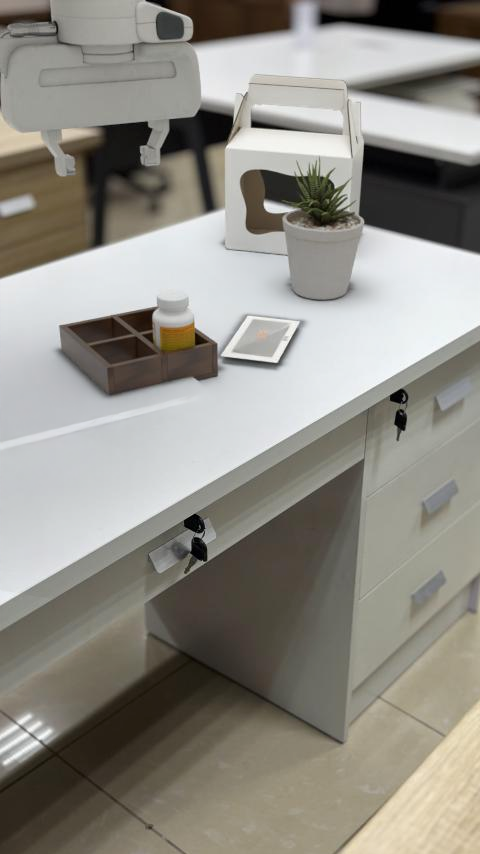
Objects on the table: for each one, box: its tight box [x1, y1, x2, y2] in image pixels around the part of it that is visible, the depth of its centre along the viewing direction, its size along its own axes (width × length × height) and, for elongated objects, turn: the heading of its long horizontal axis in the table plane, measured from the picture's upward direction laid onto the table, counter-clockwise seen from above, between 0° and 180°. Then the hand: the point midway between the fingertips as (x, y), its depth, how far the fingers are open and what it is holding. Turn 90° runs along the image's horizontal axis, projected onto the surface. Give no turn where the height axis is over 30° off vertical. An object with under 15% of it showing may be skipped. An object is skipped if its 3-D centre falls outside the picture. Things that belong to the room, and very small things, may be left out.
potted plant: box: [280, 157, 365, 301], centre depth 147 cm, size 13×14×20 cm
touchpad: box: [220, 315, 301, 364], centre depth 133 cm, size 8×15×2 cm, turn 167°
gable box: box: [224, 73, 365, 256], centre depth 164 cm, size 22×13×28 cm, turn 77°
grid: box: [58, 305, 219, 396], centre depth 125 cm, size 15×15×5 cm
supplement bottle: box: [152, 289, 196, 353], centre depth 122 cm, size 5×5×10 cm
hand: (109, 169), depth 98 cm, fingers open, 8 cm apart
